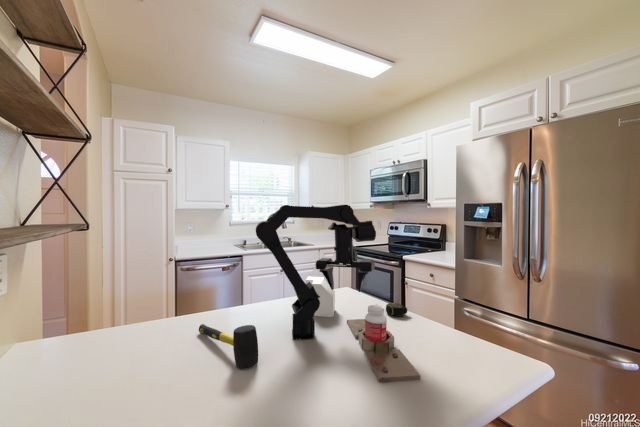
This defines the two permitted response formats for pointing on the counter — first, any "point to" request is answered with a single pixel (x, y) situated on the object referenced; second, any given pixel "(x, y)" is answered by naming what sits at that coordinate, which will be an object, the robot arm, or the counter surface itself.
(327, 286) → the white block
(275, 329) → the counter surface
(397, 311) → the tape measure
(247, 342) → the mallet
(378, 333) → the pill bottle
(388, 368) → the brown mounting plate
